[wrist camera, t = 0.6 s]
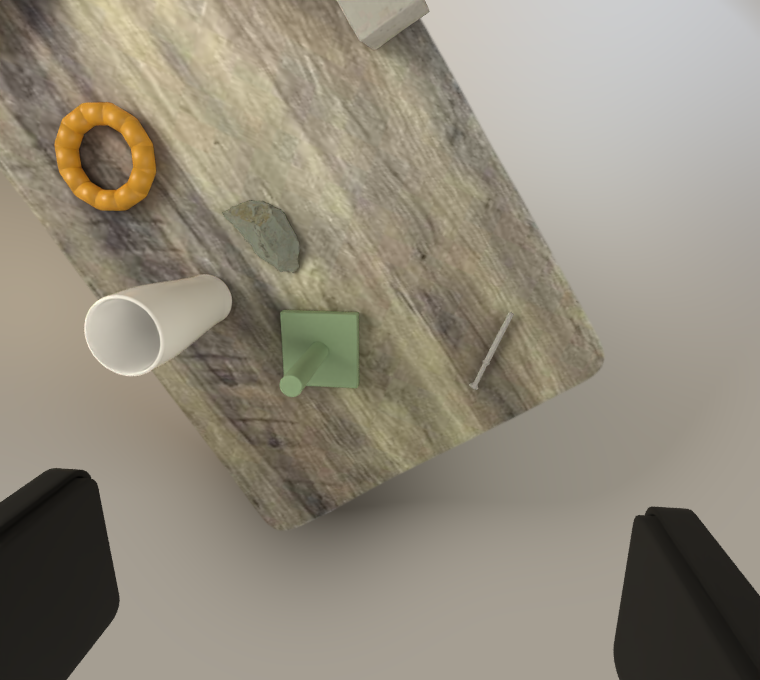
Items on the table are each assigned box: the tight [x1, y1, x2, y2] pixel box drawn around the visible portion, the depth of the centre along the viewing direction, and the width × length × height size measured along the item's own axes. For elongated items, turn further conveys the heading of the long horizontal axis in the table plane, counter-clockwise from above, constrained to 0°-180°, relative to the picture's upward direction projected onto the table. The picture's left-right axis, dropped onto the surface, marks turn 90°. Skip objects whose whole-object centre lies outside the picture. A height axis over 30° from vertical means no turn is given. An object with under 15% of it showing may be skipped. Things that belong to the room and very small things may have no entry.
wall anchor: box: [469, 312, 514, 390], centre depth 50 cm, size 1×9×1 cm, turn 158°
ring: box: [55, 102, 156, 211], centre depth 49 cm, size 10×10×2 cm
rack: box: [280, 310, 359, 397], centre depth 47 cm, size 8×8×11 cm
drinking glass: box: [84, 274, 232, 376], centre depth 45 cm, size 7×7×15 cm
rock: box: [222, 200, 299, 273], centre depth 49 cm, size 9×2×5 cm
